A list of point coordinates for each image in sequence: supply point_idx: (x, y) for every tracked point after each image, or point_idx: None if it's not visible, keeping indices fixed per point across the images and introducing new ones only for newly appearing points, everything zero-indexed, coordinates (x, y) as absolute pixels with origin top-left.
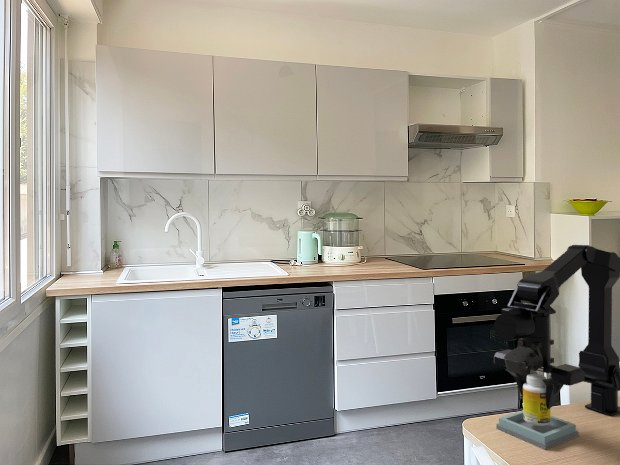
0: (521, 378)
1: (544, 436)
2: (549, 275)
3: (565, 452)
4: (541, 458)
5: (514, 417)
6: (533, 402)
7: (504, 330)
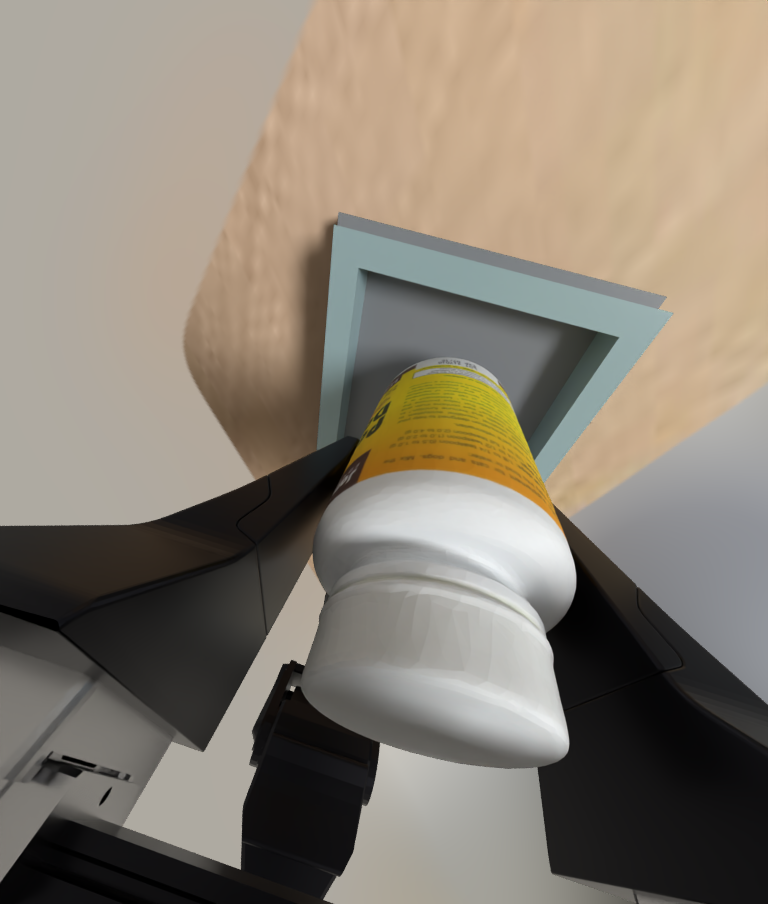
0: (630, 683)
1: (336, 228)
2: None
3: (282, 272)
4: (311, 45)
5: (560, 412)
6: (429, 411)
7: None
